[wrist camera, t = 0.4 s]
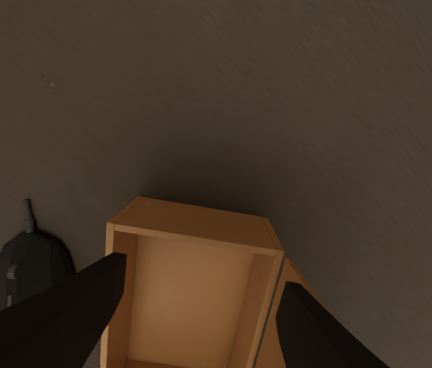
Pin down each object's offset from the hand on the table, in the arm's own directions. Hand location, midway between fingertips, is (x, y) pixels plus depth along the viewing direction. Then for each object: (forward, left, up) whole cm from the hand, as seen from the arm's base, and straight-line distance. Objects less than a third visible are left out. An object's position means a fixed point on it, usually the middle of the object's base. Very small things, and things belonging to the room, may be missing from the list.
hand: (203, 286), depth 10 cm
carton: (-9, +1, -10) cm, 14 cm away
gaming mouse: (-9, +15, -10) cm, 20 cm away
